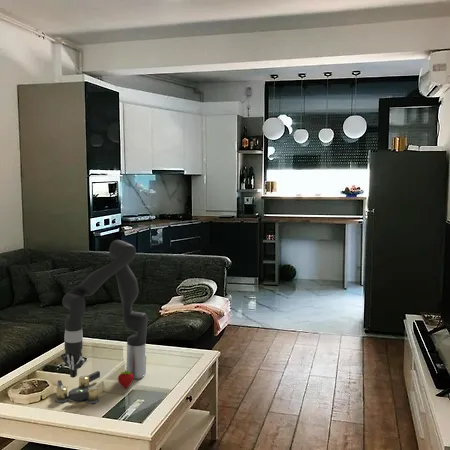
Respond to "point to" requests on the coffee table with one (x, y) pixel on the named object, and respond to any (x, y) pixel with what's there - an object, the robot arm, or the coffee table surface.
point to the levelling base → (77, 399)
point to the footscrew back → (88, 379)
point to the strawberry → (125, 379)
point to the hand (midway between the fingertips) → (73, 376)
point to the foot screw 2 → (85, 394)
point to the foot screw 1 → (61, 391)
